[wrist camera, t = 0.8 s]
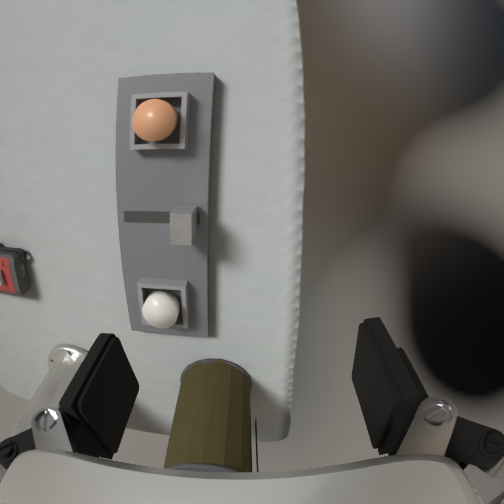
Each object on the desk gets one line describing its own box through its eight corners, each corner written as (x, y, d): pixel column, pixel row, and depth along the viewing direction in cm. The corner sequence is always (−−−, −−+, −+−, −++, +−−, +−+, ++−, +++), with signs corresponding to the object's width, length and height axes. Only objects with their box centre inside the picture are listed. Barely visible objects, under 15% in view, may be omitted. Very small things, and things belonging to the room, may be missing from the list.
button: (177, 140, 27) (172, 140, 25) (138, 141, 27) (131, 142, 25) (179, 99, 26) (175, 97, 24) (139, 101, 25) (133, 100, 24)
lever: (197, 205, 30) (191, 214, 27) (197, 233, 31) (191, 245, 28) (177, 204, 30) (169, 213, 27) (178, 232, 31) (170, 244, 28)
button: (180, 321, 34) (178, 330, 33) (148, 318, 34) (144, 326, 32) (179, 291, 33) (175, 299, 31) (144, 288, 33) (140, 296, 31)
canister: (184, 402, 43) (166, 512, 25) (177, 355, 40) (146, 481, 21) (252, 406, 44) (256, 518, 25) (256, 359, 40) (262, 491, 21)
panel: (209, 330, 38) (206, 344, 35) (135, 323, 38) (128, 337, 35) (215, 75, 27) (212, 69, 24) (124, 80, 27) (113, 76, 24)
